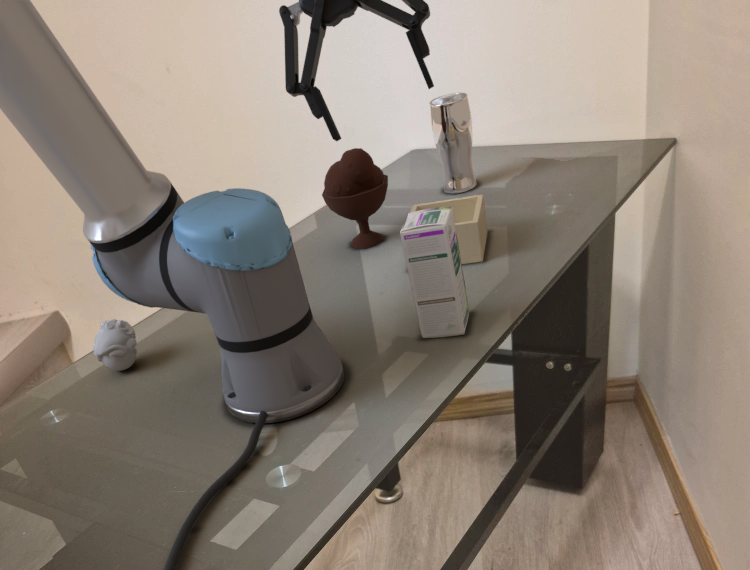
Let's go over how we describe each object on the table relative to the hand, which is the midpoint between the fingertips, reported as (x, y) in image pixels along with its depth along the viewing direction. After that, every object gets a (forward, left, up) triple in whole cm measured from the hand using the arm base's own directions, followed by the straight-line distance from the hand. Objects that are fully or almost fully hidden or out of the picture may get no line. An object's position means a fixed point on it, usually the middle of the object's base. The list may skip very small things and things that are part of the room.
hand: (383, 113), depth 96 cm
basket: (+8, -5, -23) cm, 24 cm away
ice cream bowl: (+16, +10, -23) cm, 30 cm away
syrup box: (-17, -7, -23) cm, 29 cm away
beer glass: (+36, -4, -23) cm, 43 cm away
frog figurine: (-19, +40, -23) cm, 50 cm away
